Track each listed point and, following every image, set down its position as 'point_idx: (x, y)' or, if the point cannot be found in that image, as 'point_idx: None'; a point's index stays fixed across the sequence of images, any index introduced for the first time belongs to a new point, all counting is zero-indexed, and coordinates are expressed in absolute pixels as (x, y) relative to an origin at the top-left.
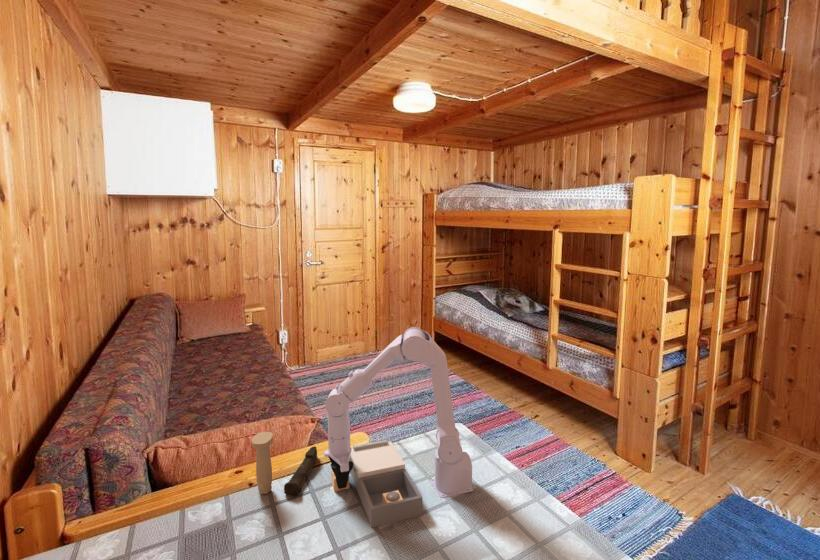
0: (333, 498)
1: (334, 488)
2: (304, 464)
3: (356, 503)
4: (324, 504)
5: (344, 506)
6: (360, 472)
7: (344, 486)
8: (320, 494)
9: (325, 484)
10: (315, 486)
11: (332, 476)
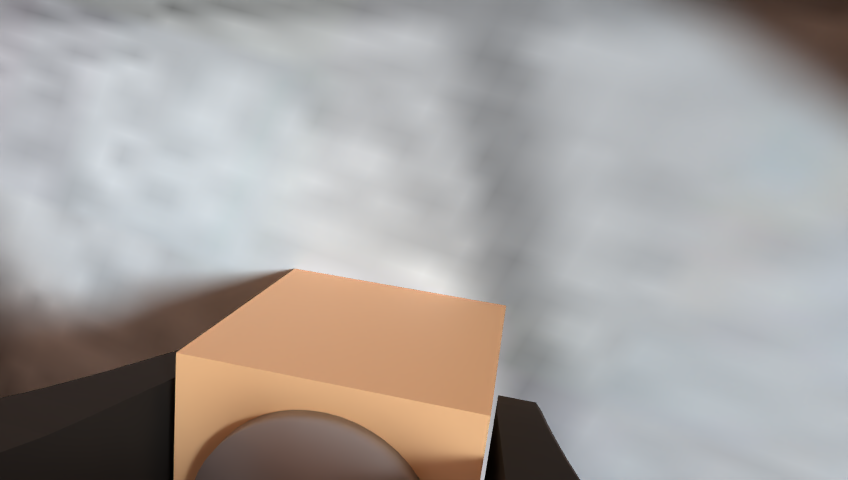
0: (195, 223)
1: (263, 294)
2: None
3: None
4: (119, 77)
5: (14, 288)
6: None
7: None
8: (347, 84)
9: (554, 224)
10: (584, 63)
11: (366, 367)
